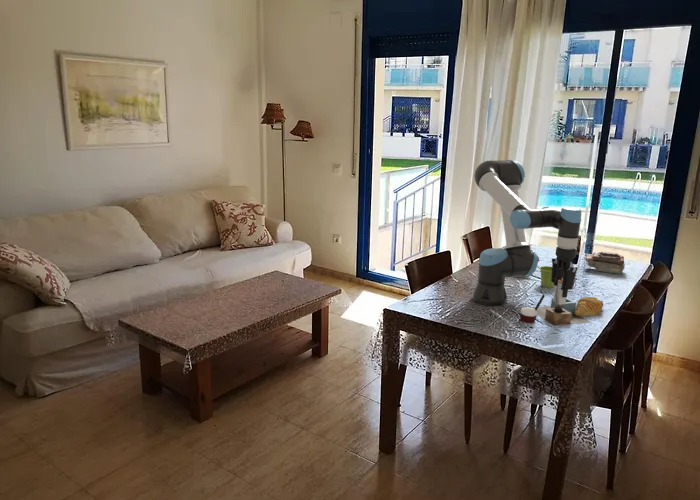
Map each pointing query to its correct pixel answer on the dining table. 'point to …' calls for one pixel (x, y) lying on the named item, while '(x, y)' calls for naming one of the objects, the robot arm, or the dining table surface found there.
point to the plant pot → (546, 276)
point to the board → (574, 320)
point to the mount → (558, 316)
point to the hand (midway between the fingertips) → (559, 302)
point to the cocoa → (529, 313)
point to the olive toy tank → (606, 262)
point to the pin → (558, 307)
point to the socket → (566, 305)
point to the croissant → (588, 306)
